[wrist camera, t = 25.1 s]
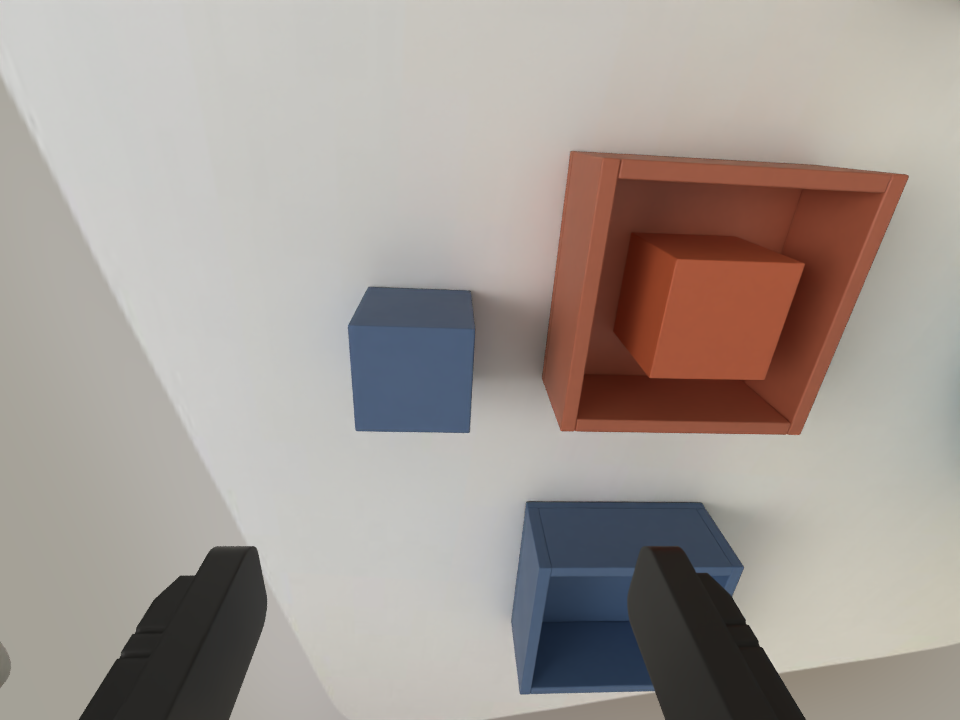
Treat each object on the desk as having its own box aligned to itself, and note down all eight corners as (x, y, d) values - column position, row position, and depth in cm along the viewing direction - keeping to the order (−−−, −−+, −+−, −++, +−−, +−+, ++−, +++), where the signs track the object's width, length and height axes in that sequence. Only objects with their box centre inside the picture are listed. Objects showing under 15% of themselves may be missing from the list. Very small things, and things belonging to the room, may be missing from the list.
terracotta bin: (541, 378, 23) (560, 431, 19) (570, 150, 19) (602, 157, 15) (741, 383, 24) (800, 435, 20) (815, 165, 19) (910, 174, 15)
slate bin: (511, 621, 31) (519, 694, 27) (526, 501, 27) (539, 568, 23) (662, 619, 32) (692, 690, 28) (701, 502, 27) (745, 567, 23)
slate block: (372, 377, 23) (355, 431, 19) (368, 286, 21) (347, 325, 17) (466, 379, 23) (469, 433, 19) (470, 290, 21) (475, 329, 17)
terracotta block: (612, 332, 22) (649, 378, 18) (631, 232, 20) (676, 259, 16) (707, 334, 22) (764, 380, 18) (734, 236, 20) (806, 263, 16)
